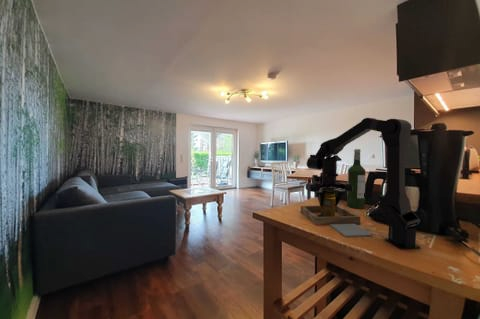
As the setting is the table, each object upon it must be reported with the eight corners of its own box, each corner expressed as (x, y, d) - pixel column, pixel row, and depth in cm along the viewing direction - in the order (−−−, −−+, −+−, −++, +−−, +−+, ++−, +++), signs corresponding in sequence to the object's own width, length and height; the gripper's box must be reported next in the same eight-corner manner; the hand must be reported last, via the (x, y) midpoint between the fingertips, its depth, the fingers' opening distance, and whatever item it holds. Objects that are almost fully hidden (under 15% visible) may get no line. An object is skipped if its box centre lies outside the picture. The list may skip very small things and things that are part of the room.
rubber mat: (372, 236, 69) (372, 234, 69) (345, 237, 68) (345, 235, 68) (354, 225, 79) (354, 223, 79) (329, 225, 78) (329, 224, 78)
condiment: (338, 217, 88) (339, 190, 87) (331, 222, 82) (331, 193, 81) (322, 213, 93) (322, 188, 92) (313, 217, 87) (314, 190, 86)
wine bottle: (351, 203, 110) (353, 149, 108) (367, 207, 103) (369, 149, 102) (344, 206, 105) (345, 149, 103) (360, 209, 99) (362, 149, 97)
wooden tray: (360, 224, 80) (360, 216, 80) (316, 225, 79) (316, 218, 78) (337, 211, 96) (337, 205, 96) (300, 212, 95) (300, 206, 95)
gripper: (339, 168, 95) (338, 201, 96) (301, 169, 94) (300, 201, 95) (354, 171, 84) (353, 207, 85) (311, 172, 83) (310, 209, 83)
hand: (328, 206), depth 87 cm, fingers closed on condiment, 6 cm apart
